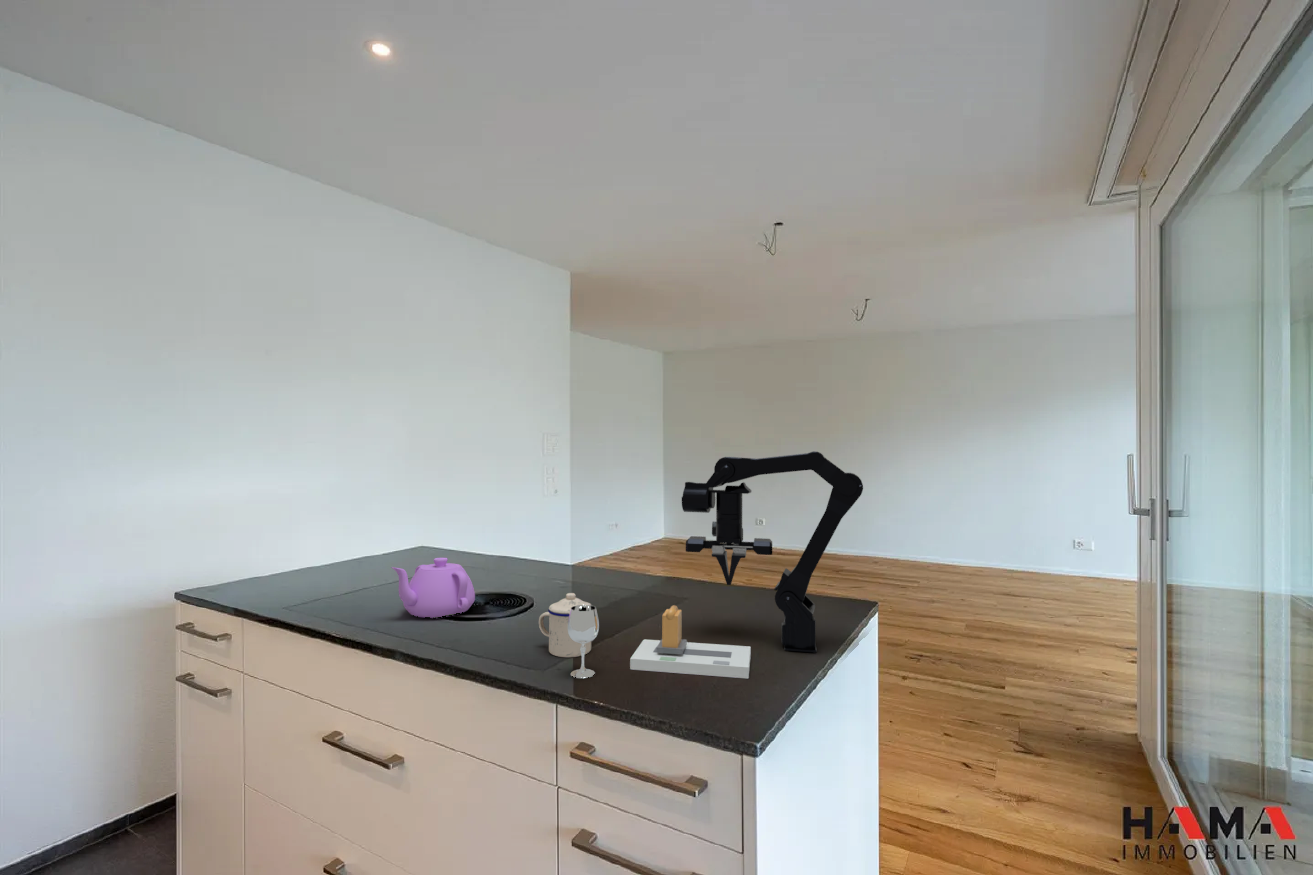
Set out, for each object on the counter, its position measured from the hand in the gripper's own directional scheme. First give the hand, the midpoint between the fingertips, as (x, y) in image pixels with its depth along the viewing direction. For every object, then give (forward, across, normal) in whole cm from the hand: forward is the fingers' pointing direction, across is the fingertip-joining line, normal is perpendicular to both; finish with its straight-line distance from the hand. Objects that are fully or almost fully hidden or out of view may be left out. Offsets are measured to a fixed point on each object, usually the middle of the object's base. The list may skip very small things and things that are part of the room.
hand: (729, 584), depth 129 cm
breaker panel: (+12, +6, +16) cm, 21 cm away
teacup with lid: (+12, +33, +14) cm, 38 cm away
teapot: (+12, +75, -5) cm, 76 cm away
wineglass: (+12, +25, +26) cm, 38 cm away
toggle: (+10, +10, +16) cm, 21 cm away
